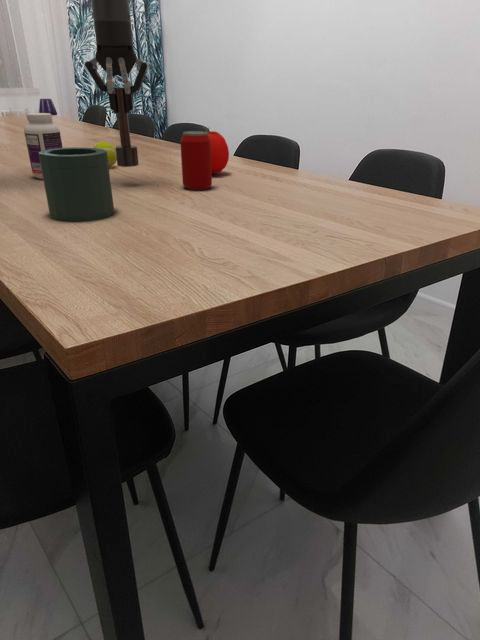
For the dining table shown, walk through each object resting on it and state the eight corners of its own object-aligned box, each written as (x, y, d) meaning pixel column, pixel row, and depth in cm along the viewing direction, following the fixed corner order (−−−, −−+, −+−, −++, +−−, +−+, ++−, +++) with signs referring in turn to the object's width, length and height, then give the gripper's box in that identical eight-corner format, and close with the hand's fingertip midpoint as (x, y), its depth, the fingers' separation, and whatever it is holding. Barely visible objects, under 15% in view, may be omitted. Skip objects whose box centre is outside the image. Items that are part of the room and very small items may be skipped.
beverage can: (210, 184, 121) (209, 130, 115) (213, 190, 115) (211, 134, 109) (182, 185, 120) (179, 130, 114) (183, 191, 114) (180, 133, 108)
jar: (42, 221, 89) (29, 156, 84) (59, 206, 99) (49, 147, 94) (107, 221, 90) (99, 156, 85) (118, 206, 100) (111, 147, 95)
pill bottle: (68, 173, 130) (58, 112, 123) (66, 179, 123) (56, 115, 116) (35, 174, 128) (22, 112, 121) (31, 180, 121) (18, 115, 114)
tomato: (223, 169, 140) (222, 126, 134) (234, 177, 130) (233, 130, 125) (180, 171, 136) (177, 126, 131) (188, 179, 127) (186, 131, 121)
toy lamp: (45, 163, 144) (33, 98, 136) (61, 161, 147) (50, 98, 139) (52, 165, 141) (40, 99, 133) (68, 163, 144) (57, 98, 135)
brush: (115, 166, 114) (106, 87, 107) (119, 163, 119) (110, 87, 111) (137, 166, 115) (129, 88, 107) (139, 163, 119) (132, 87, 111)
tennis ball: (101, 170, 136) (97, 143, 132) (89, 166, 140) (85, 141, 137) (123, 167, 140) (120, 141, 136) (111, 164, 144) (108, 139, 141)
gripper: (148, 22, 107) (155, 112, 115) (81, 20, 106) (93, 111, 114) (144, 19, 100) (152, 114, 109) (73, 17, 99) (86, 113, 107)
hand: (122, 112), depth 111 cm, fingers closed on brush
